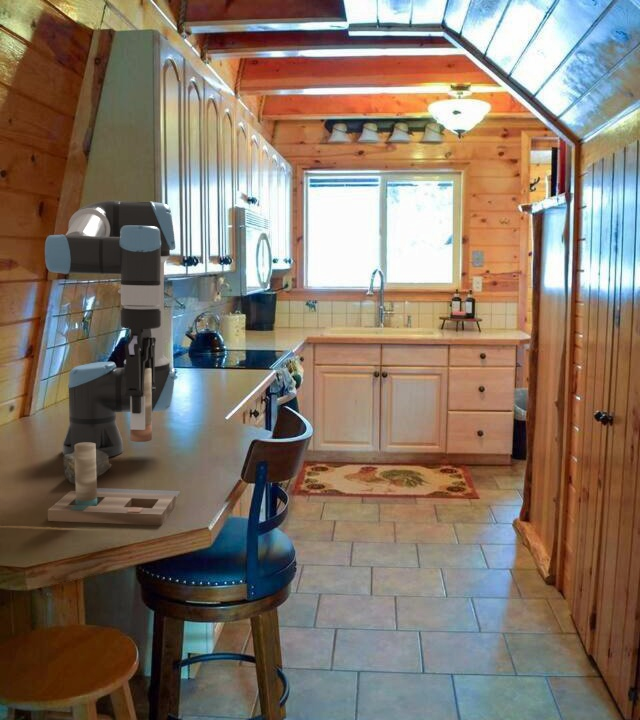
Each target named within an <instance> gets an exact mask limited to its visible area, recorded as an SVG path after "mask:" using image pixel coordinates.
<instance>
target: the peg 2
mask: <svg viewBox="0 0 640 720" xmlns="http://www.w3.org/2000/svg"><path fill="white" fill-rule="evenodd" d="M143 396H145V430H131V429H130V428H129V429H130V430H129V431H130V440H129V441H131V442H136V443H145V442H146V443H147V442H150V441H152V440H153V433H152V432H153V431H152V430H153V426H152V425H153V423H152V421H153V418H152V417H153V416H152V415H153V414H152V402H151V368H145V373H144V395H143Z"/></svg>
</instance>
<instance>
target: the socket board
mask: <svg viewBox="0 0 640 720" xmlns="http://www.w3.org/2000/svg"><path fill="white" fill-rule="evenodd" d="M176 505H177V497H176V495H168V494H141V493H115V492H97V506H86V505H76V490H70V491H68V493H66V494H65V495H64V496H62V497H61V498H60V499H59V500H58V501H57V502H55V504H53V505H51V507H49V508H48V509H47V521H49V522H67V523H68V522H70V523H94V524H97V523H98V524H119V525H120V524H121V525H123V524H124V525H142V526H143V525H146V526H148V525H149V526H162V525H163V524H164V523H165V521H166V520H167V518H168V517H169V515H170V514H171V512H172V511H173V510H174V509H175V507H176Z"/></svg>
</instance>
